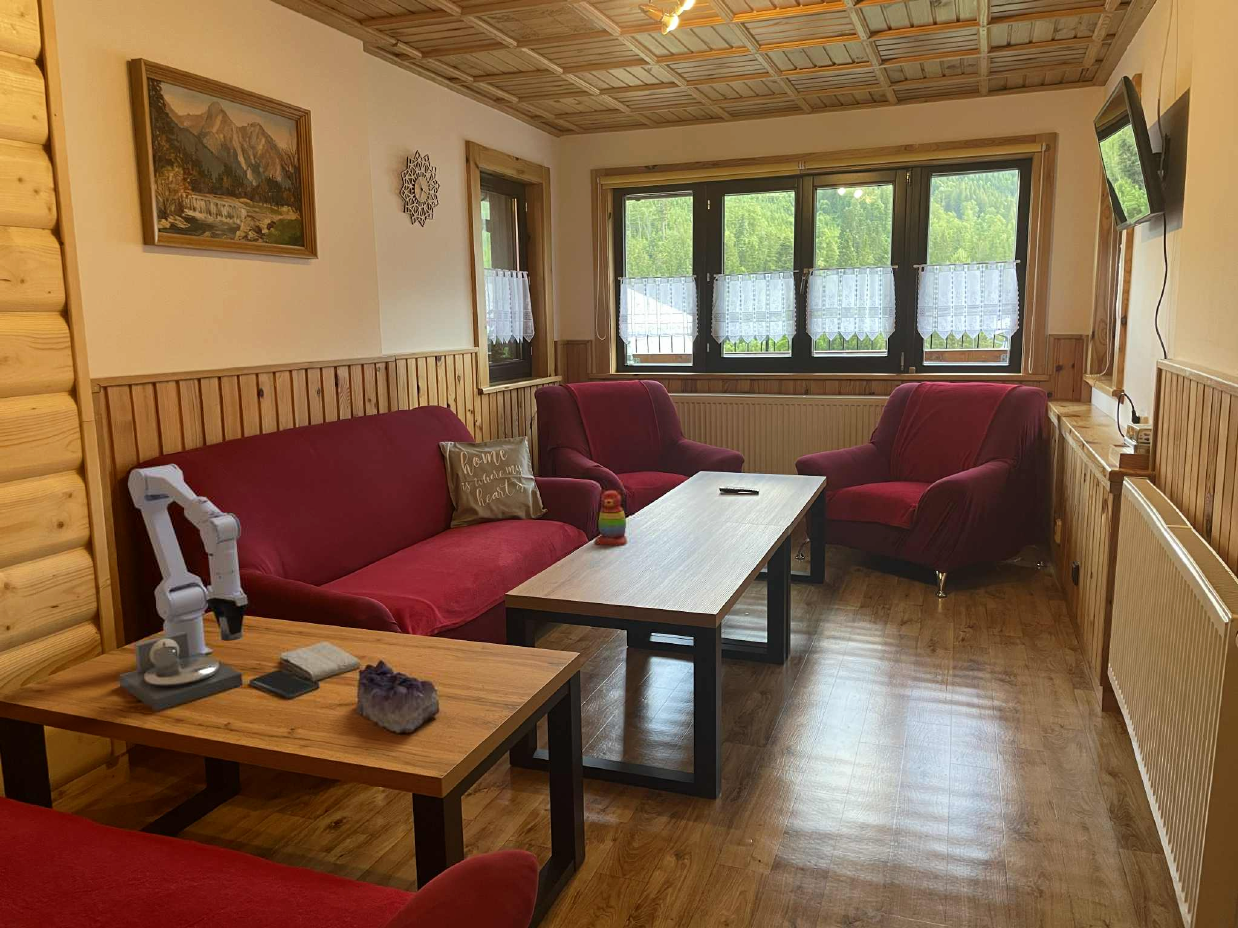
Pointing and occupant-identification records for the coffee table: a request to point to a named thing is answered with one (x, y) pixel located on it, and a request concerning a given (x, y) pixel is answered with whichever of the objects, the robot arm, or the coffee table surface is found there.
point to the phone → (284, 684)
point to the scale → (175, 694)
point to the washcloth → (319, 661)
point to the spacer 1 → (166, 661)
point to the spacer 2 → (227, 630)
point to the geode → (395, 698)
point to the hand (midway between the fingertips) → (230, 631)
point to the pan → (185, 672)
